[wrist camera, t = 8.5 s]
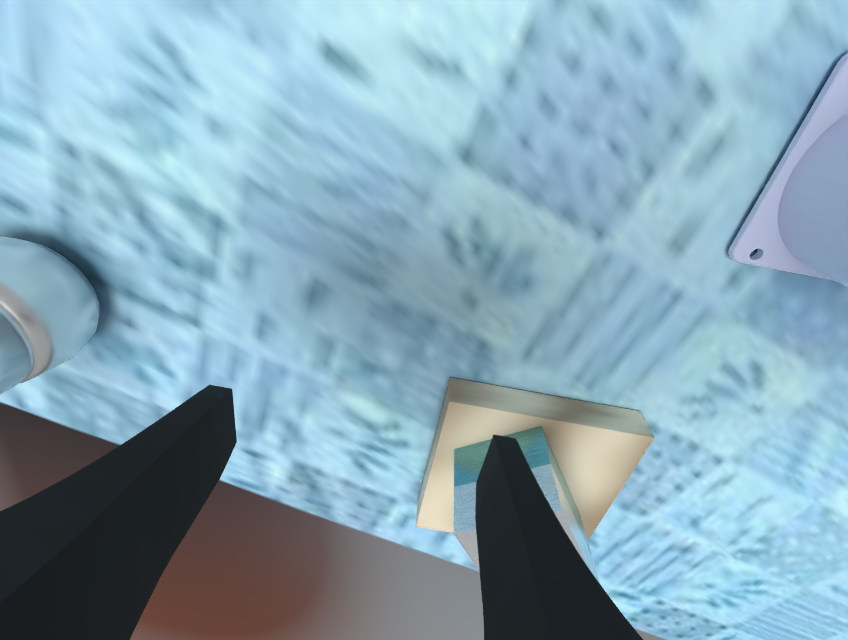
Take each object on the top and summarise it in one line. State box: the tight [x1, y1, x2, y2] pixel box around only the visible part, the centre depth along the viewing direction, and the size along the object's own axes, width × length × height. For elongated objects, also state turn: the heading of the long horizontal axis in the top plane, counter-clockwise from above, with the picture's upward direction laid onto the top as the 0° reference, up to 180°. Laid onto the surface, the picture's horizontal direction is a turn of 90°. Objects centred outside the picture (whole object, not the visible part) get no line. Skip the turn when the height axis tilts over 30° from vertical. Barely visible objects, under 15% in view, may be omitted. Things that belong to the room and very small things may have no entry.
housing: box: [454, 426, 600, 584], centre depth 22 cm, size 8×5×5 cm, turn 25°
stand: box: [416, 377, 654, 540], centre depth 26 cm, size 11×11×2 cm
